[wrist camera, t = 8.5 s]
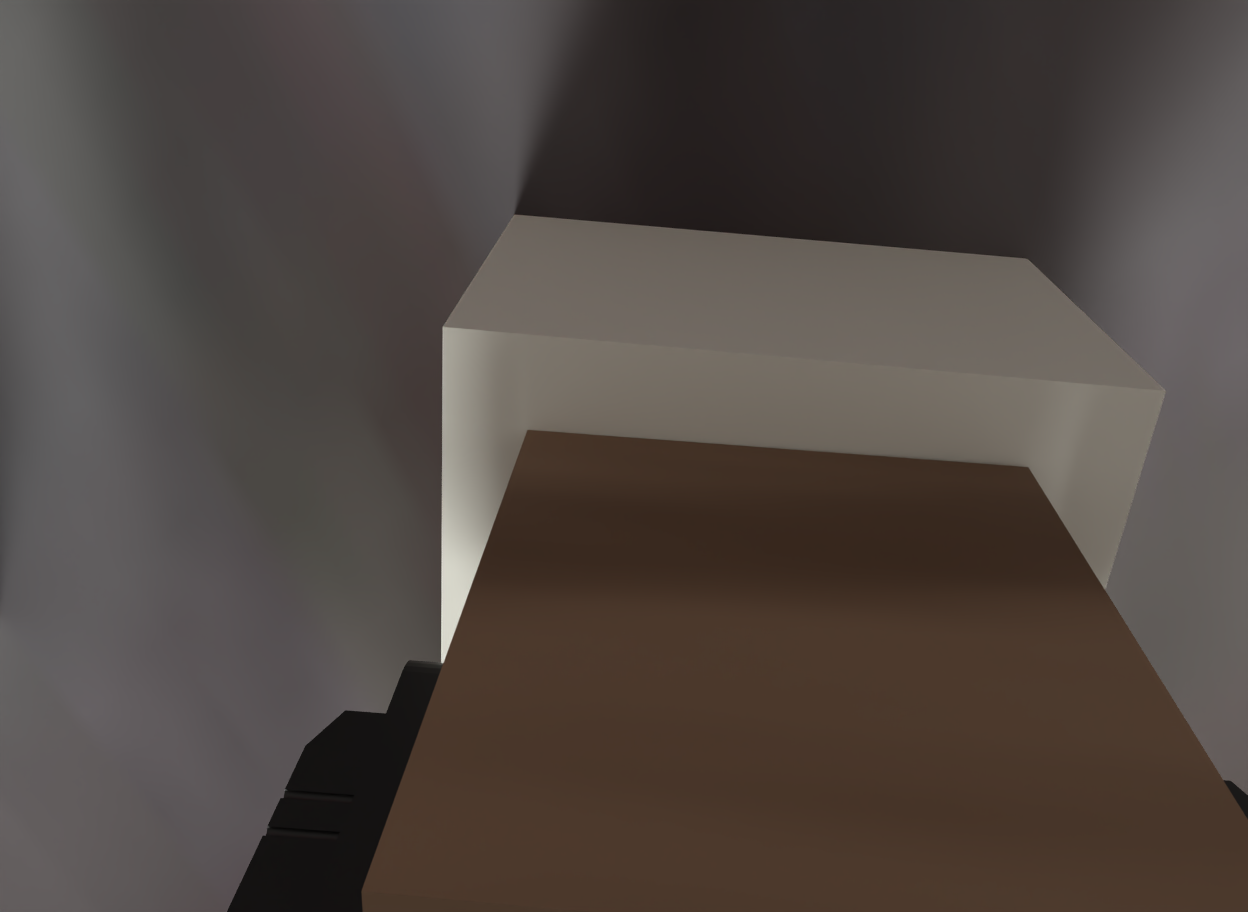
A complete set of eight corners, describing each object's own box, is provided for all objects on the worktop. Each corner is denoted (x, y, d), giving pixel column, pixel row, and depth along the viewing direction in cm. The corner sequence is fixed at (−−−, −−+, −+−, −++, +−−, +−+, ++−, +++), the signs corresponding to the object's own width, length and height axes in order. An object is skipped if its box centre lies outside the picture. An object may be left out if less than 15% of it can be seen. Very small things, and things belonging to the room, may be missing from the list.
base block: (516, 211, 15) (441, 326, 11) (1024, 255, 15) (1165, 391, 11) (502, 634, 18) (439, 863, 14) (926, 673, 18) (1005, 918, 14)
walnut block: (526, 430, 11) (361, 890, 6) (1028, 467, 11) (1346, 978, 6) (521, 811, 13) (395, 1412, 8) (941, 847, 13) (1109, 1489, 8)
